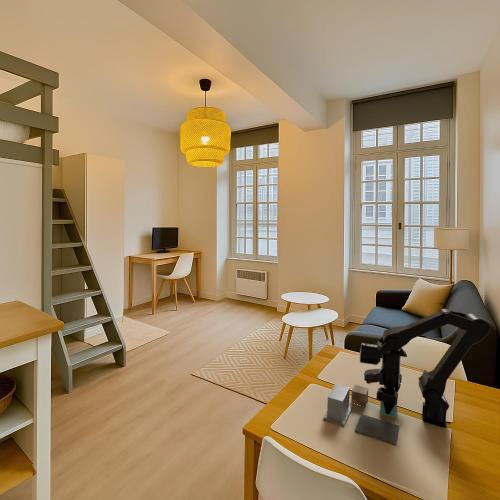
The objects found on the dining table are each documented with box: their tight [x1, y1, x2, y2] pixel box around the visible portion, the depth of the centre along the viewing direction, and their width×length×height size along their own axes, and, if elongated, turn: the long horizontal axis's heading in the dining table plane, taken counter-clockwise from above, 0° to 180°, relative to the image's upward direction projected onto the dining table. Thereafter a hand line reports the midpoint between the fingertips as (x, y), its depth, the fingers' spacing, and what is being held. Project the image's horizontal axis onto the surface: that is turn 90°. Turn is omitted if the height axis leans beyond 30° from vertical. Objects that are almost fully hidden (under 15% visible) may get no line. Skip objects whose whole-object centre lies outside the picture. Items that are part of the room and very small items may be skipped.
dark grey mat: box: [354, 413, 400, 446], centre depth 102 cm, size 12×10×1 cm
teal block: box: [379, 401, 398, 419], centre depth 111 cm, size 5×5×5 cm
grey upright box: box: [322, 383, 353, 427], centre depth 110 cm, size 7×12×8 cm, turn 150°
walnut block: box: [350, 384, 369, 408], centre depth 117 cm, size 5×5×5 cm
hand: (388, 408), depth 111 cm, fingers open, 7 cm apart
